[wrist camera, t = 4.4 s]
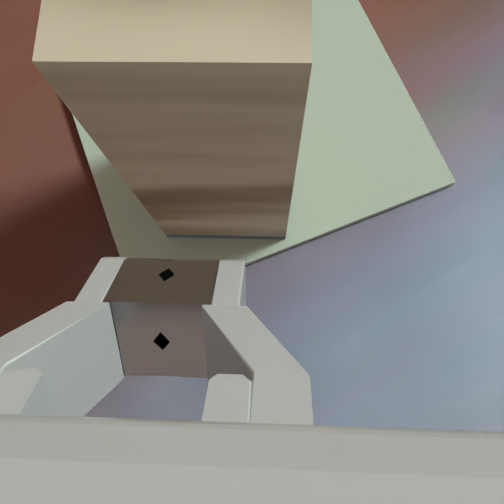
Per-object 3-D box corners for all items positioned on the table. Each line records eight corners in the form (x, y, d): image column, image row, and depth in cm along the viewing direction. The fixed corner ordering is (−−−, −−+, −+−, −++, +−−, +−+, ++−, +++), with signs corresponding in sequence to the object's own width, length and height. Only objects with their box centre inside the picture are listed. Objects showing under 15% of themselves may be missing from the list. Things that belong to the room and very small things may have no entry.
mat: (138, 307, 21) (136, 306, 21) (46, 32, 25) (43, 26, 25) (452, 184, 22) (455, 181, 22) (319, -64, 26) (320, -70, 26)
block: (285, 239, 22) (312, 63, 9) (167, 237, 22) (32, 61, 9) (286, 131, 23) (311, -157, 10) (175, 130, 23) (66, -153, 10)
